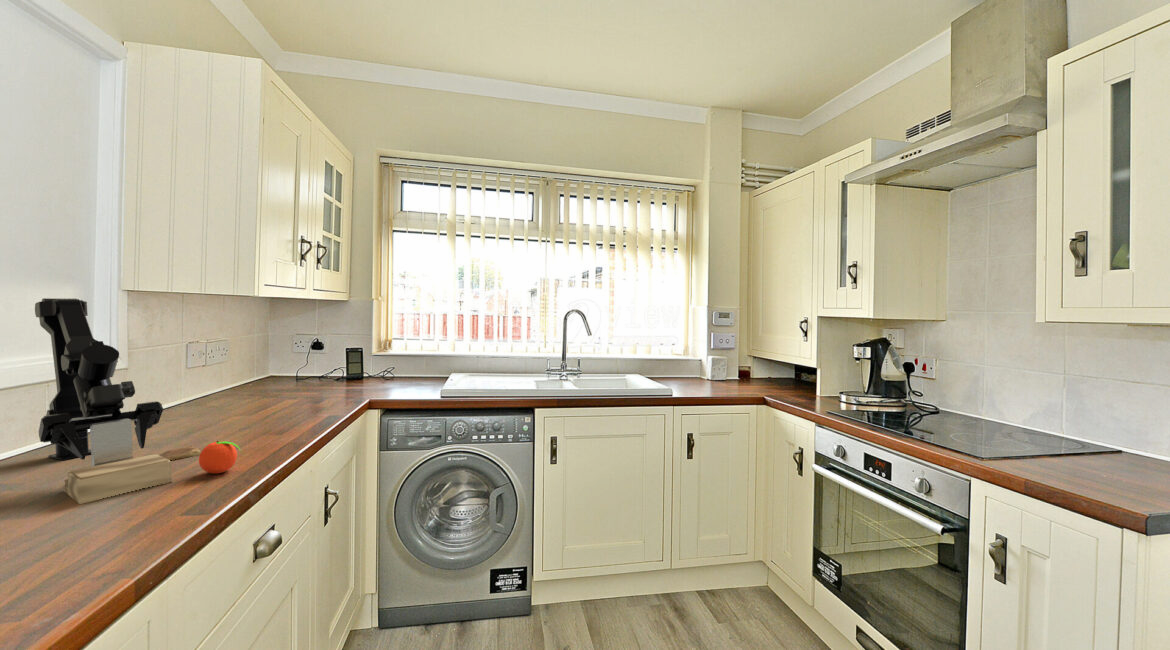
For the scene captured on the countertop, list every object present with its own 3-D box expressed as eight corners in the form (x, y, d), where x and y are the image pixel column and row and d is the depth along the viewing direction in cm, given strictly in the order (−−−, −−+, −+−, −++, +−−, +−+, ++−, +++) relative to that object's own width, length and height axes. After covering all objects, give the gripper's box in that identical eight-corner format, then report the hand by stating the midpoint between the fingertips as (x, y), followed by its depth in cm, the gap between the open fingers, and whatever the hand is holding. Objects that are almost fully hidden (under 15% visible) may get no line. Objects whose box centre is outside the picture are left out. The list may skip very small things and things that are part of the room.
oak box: (63, 491, 101) (62, 467, 101) (152, 471, 113) (151, 450, 113) (79, 504, 95) (78, 479, 94) (172, 482, 106) (171, 459, 106)
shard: (145, 468, 116) (145, 460, 116) (134, 462, 121) (134, 455, 121) (201, 456, 125) (201, 449, 125) (189, 451, 130) (189, 444, 130)
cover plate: (92, 486, 104) (89, 424, 103) (130, 478, 109) (128, 418, 108) (95, 488, 103) (92, 425, 102) (133, 479, 108) (131, 419, 107)
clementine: (248, 466, 116) (247, 435, 116) (235, 476, 110) (234, 444, 109) (208, 469, 115) (207, 438, 114) (192, 479, 108) (191, 446, 108)
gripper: (38, 375, 99) (55, 439, 93) (158, 365, 114) (179, 420, 109) (32, 410, 104) (47, 473, 98) (147, 396, 119) (166, 450, 114)
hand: (114, 452), depth 105 cm, fingers open, 9 cm apart
